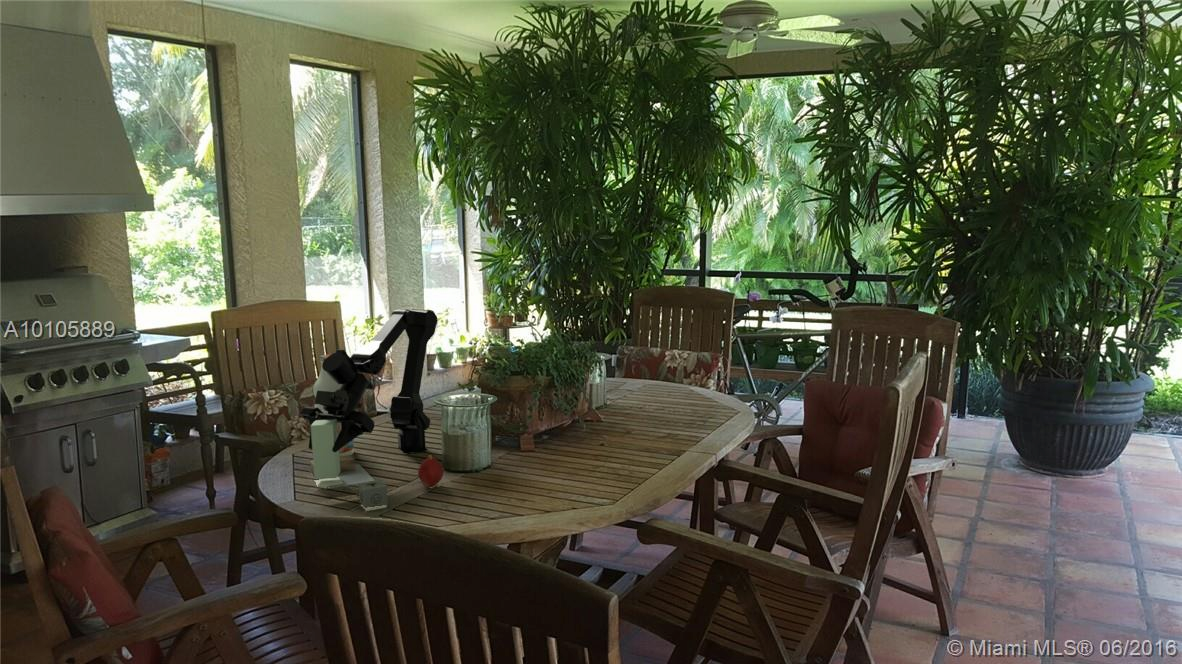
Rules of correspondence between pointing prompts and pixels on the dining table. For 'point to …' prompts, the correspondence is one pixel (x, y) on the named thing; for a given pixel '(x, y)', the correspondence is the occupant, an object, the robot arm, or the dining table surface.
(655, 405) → the dining table surface
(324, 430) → the post
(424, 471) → the onion
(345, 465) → the beam
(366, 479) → the board
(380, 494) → the dice cube
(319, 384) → the fruit juice
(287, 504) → the dining table surface
